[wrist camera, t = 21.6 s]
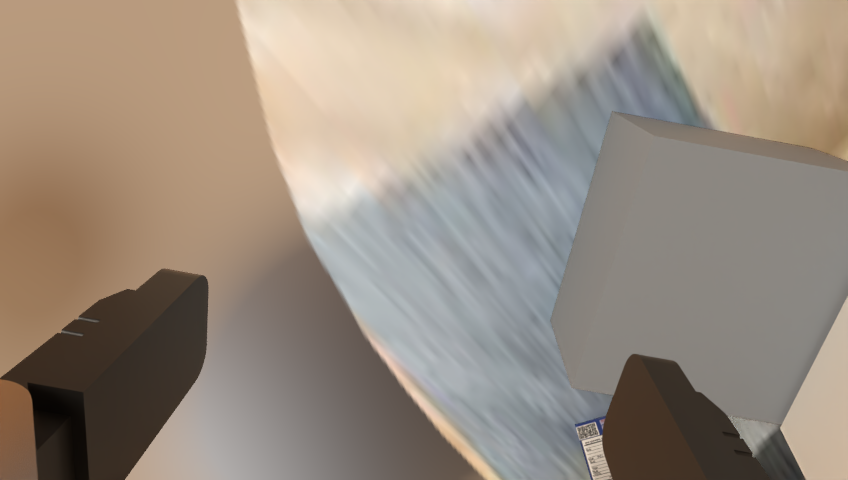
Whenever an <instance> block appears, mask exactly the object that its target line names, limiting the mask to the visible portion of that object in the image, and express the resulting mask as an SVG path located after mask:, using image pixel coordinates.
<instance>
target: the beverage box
mask: <svg viewBox="0 0 848 480" xmlns="http://www.w3.org/2000/svg"><path fill="white" fill-rule="evenodd" d="M605 418H606V416H603V417H600V418H596V419H593V420H589V421H585V422H582V423H578V424H575V426H576V430H577V433H578V436H579V440H580V443H581V447H582V450H583V453H584V457H585V460H586V464H587V467H588V470H589V474H590V477H591V480H613V479H612V476H611V473H610V470H609V467H608V464H607V461H606V459H605V456H604V452H603V445H602V433H603V425H604V421H605Z"/></svg>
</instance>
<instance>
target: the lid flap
mask: <svg viewBox="0 0 848 480" xmlns="http://www.w3.org/2000/svg"><path fill="white" fill-rule="evenodd" d="M780 429H781V431H782V433H783V435H784V437H785V439H786V441H787V443H788V445H789V447H790V449H791V451H792V453H793V455H794V457H795V459H796V461H797V463H798V465H799V467H800V469H801V471H802V473H803V475H804V477H805V479H806V480H848V296H847V298H846V300H845V302H844V304H843V306H842V308H841V310H840V312H839V314H838V316H837V318H836V320H835V322H834V324H833V326H832V328H831V330H830V332H829V333H828V335H827V337H826V339H825V341H824V343H823V345H822V347H821V349H820V351H819V353H818V355H817V357H816V359H815V361H814V363H813V365H812V367H811V369H810V371H809V373H808V374H807V376H806V378H805V380H804V382H803V384H802V386H801V388H800V390H799V392H798V394H797V396H796V398H795V400H794V402H793V404H792V406H791V408H790V410H789V412H788V414H787V415H786V417H785V419H784V421H783V423H782V425H781V427H780Z"/></svg>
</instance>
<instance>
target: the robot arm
mask: <svg viewBox="0 0 848 480" xmlns="http://www.w3.org/2000/svg"><path fill="white" fill-rule="evenodd" d="M207 314H208V281H207V279H206V277H205V276H203V275H198V274H192V273H186V272H180V271H175V270H170V269H161V270H160V271H158V272H157V273H156V274H155V275H154V276H152V277H151V278H150V279H149V280H148V281H146V282H145V283H144V284H143V285H142V286H140V287H139V288H138V289H137V290H136V291H135V290H130V289H127V290H124V291H121V292H119V293H116V294H114V295H111V296H109V297H106V298H104V299H101V300H99V301H98V302H96V303H95V304H94V305H92V306H91V307H90V308H89V309H87V310H86V311H85V312H84V313H82V314H81V315H80V316H79V318H78V320H74V321H72V322H71V323H70V324H68V325H67V326H66V327H64V328H63V329H62V332H61V334H60V333H57V334H56V335H54V336H53V337H52V338H50V339H49V340H48V341H47V342H45V343H44V344H43V345H42V346H40V347H39V348H38V349H37V350H35V351H34V352H33V353H32V354H30V355H29V356H28V357H26V358H25V359H24V360H23V361H21V362H20V363H19V364H17V365H16V366H15V367H14V368H12V369H11V370H10V371H9V372H7V373H6V374H5V375H3V376H2V377H1V378H0V480H125V478H126V477H127V476H128V474H129V473H130V472H131V470H132V469H133V467H134V466H135V465H136V463H137V462H138V461H139V459H140V458H141V456H142V455H143V454H144V452H145V451H146V449H147V448H148V447H149V445H150V444H151V442H152V441H153V440H154V438H155V437H156V435H157V434H158V433H159V431H160V430H161V429H162V427H163V426H164V424H165V423H166V422H167V420H168V419H169V417H170V416H171V415H172V413H173V412H174V411H175V409H176V408H177V406H178V405H179V404H180V402H181V401H182V399H183V398H184V396H185V395H186V394H187V392H188V391H189V389H190V388H191V387H192V385H193V384H194V383H195V381H196V380H197V378H198V376H199V374H200V372H201V369H202V366H203V363H204V359H205V355H206V346H207V316H208V315H207ZM739 436H740V434H739V433H738V431H737V430H736V428H735V427H734V425H733V424H732V423H731V421H730V420H729V418H728V417H727V415H726V414H725V413H724V412H723V411H722V410H721V409H720V408H719V407H717V406H716V405H715V404H714V403H713V402H712V401H711V400H709V399H708V398H707V397H706V396H705V395H704V394H702V393H701V392H696V391H695V389H694V388H693V386H692V385H691V383H690V382H689V380H688V379H687V377H686V375H685V374H684V372H683V371H682V369H681V368H680V366H679V365H678V363H677V362H675V361H673V360H667V359H662V358H656V357H651V356H645V355H639V354H632V355H631V356H630V357H629V358H628V359H627V361H626V363H625V365H624V368H623V371H622V374H621V376H620V379H619V382H618V385H617V387H616V390H615V393H614V396H613V398H612V401H611V404H610V407H609V409H608V412H607V415H606V418H605V421H604V425H603V433H602V445H603V452H604V456H605V459H606V461H607V464H608V467H609V470H610V473H611V476H612V479H613V480H771V479H770V478H769V477H768V475H767V474H766V472H765V471H764V469H763V468H762V466H761V465H760V463H759V462H758V460H757V459H756V458H754V457H752V452H751V450H750V449H749V447H748V446H747V444H746V443H745V442H744V440H743V439H740V438H739Z"/></svg>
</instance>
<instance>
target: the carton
mask: <svg viewBox="0 0 848 480" xmlns="http://www.w3.org/2000/svg"><path fill="white" fill-rule="evenodd" d="M847 296H848V161H846V160H843V159H840V158H837V157H835V156H832V155H829V154H826V153H824V152H821V151H818V150H815V149H812V148H808V147H803V146H797V145H792V144H786V143H781V142H776V141H770V140H765V139H759V138H754V137H749V136H743V135H738V134H732V133H727V132H722V131H716V130H711V129H705V128H700V127H695V126H689V125H684V124H678V123H673V122H667V121H662V120H657V119H651V118H646V117H640V116H635V115H630V114H624V113H619V112H613V111H612V113H611V116H610V120H609V123H608V127H607V130H606V133H605V137H604V140H603V144H602V147H601V150H600V154H599V157H598V161H597V164H596V167H595V171H594V174H593V177H592V181H591V184H590V188H589V191H588V194H587V198H586V201H585V205H584V208H583V211H582V215H581V218H580V222H579V225H578V228H577V232H576V235H575V239H574V242H573V245H572V249H571V252H570V256H569V259H568V262H567V266H566V269H565V273H564V276H563V279H562V283H561V286H560V289H559V293H558V296H557V300H556V303H555V306H554V310H553V313H552V317H551V320H550V321H551V324H552V327H553V331H554V334H555V337H556V340H557V343H558V346H559V350H560V353H561V356H562V359H563V362H564V366H565V369H566V372H567V375H568V378H569V381H570V385H571V388H575V389H581V390H586V391H592V392H597V393H603V394H609V395H614V393H615V390H616V387H617V385H618V382H619V379H620V376H621V374H622V371H623V368H624V365H625V363H626V361H627V359H628V358H629V357H630V356H631V355H632V354H639V355H645V356H651V357H656V358H662V359H667V360H673V361H675V362H677V363H678V365H679V366H680V368H681V369H682V371H683V372H684V374H685V375H686V377H687V379H688V380H689V382H690V383H691V385H692V386H693V388H694V389H695V391H696V392H701V393H702V394H704V395H705V396H706V397H707V398H708V399H709V400H711V401H712V402H713V403H714V404H715V405H716V406H717V407H719V408H720V409H721V410H722V411H723V412H724V413H725V414H726V415H727V416H733V417H738V418H744V419H749V420H755V421H761V422H766V423H772V424H778V425H782V423H783V421H784V419H785V417H786V415H787V414H788V412H789V410H790V408H791V406H792V404H793V402H794V400H795V398H796V396H797V394H798V392H799V390H800V388H801V386H802V384H803V382H804V380H805V378H806V376H807V374H808V373H809V371H810V369H811V367H812V365H813V363H814V361H815V359H816V357H817V355H818V353H819V351H820V349H821V347H822V345H823V343H824V341H825V339H826V337H827V335H828V333H829V332H830V330H831V328H832V326H833V324H834V322H835V320H836V318H837V316H838V314H839V312H840V310H841V308H842V306H843V304H844V302H845V300H846V298H847Z"/></svg>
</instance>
